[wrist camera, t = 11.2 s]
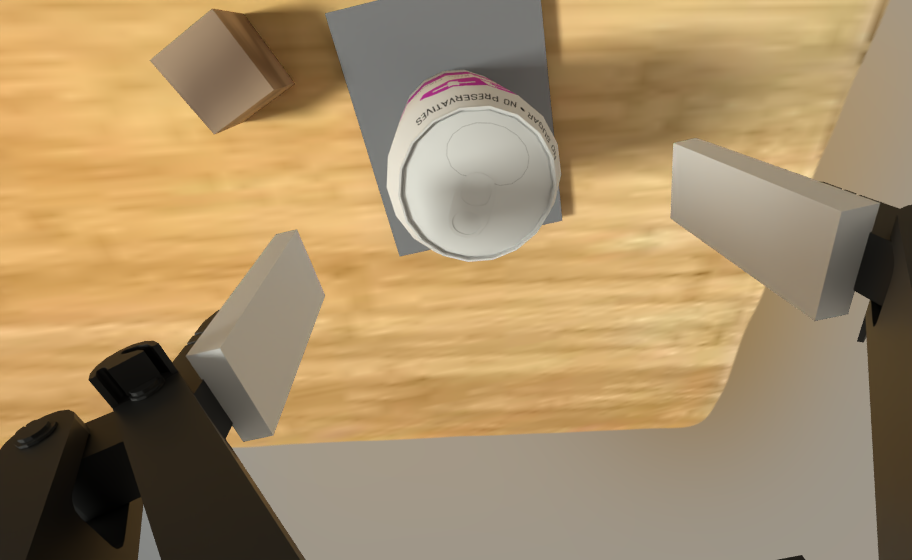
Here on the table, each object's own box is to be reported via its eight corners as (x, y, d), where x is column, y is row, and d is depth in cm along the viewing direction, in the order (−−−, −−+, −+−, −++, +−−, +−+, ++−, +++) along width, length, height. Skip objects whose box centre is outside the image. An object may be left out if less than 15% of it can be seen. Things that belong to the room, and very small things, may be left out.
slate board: (328, 14, 29) (324, 13, 28) (532, -37, 29) (536, -40, 28) (400, 250, 38) (399, 256, 37) (558, 215, 37) (562, 220, 36)
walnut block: (190, 57, 30) (149, 60, 26) (243, 14, 29) (211, 8, 25) (242, 122, 32) (214, 134, 28) (295, 83, 31) (273, 89, 27)
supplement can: (415, 53, 30) (407, 61, 16) (527, 90, 31) (601, 124, 18) (389, 167, 33) (366, 249, 20) (491, 195, 35) (530, 288, 22)
